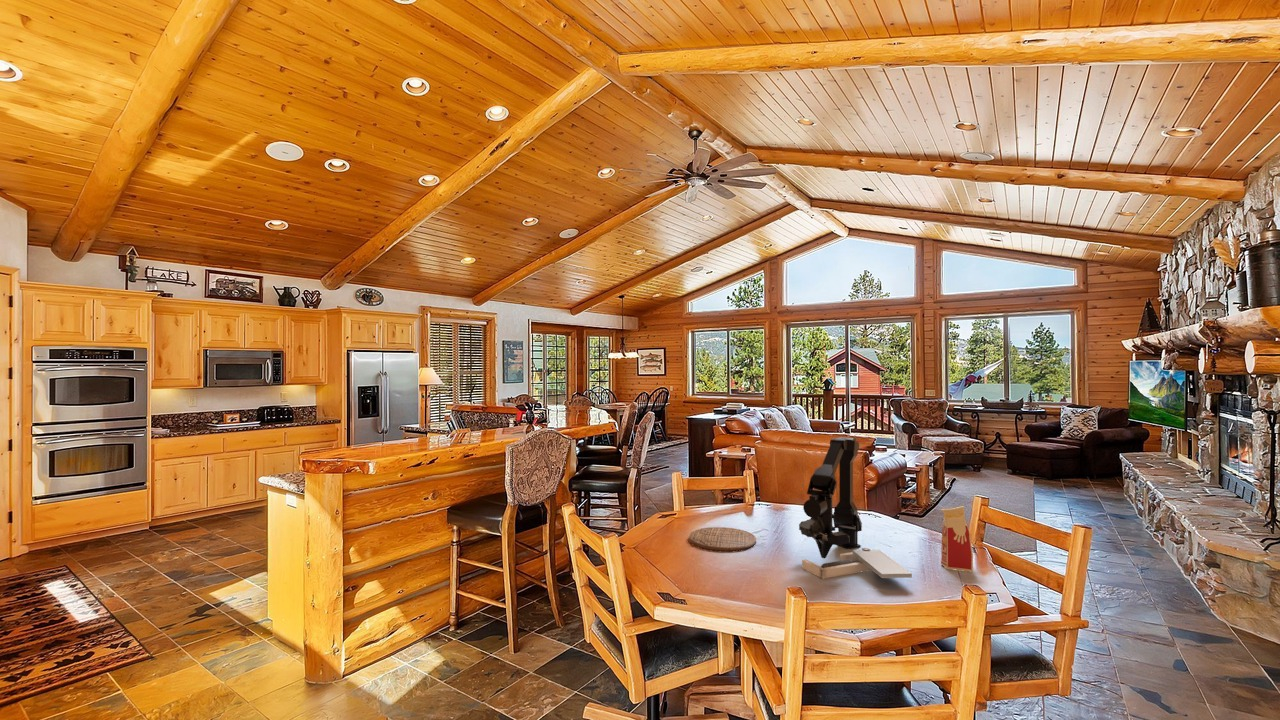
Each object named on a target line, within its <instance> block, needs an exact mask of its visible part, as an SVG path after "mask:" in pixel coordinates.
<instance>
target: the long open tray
mask: <svg viewBox="0 0 1280 720" xmlns="http://www.w3.org/2000/svg"><path fill="white" fill-rule="evenodd" d="M843 560H850V561H851V562H852V563H850V564H844V565H838V566H832V567H826V568H822V567H821V565H818V564H816V563H814V562H812V561H810V560H809V559H801V567H802V569H804V570H805V571H807V572H809V573H811V574H812V575H815V576H817V577H818V578H821V579H822V580H823V579H828V578H835V577H840V576H845V575H851V574H856V573H857V572H858V573H862V572H861V571H863V572H868V571H867V570H869V571H873V570H872V569H870V568H869V567H868V566H867V565H866V564H864V563H863V562H862V561H861V560H860V559H858V558H857V557H856V556H855V555H854V554H853V551H850V552H844V553H840V554H839V561H843ZM859 561H860V562H859Z"/></svg>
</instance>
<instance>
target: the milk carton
mask: <svg viewBox="0 0 1280 720" xmlns="http://www.w3.org/2000/svg"><path fill="white" fill-rule="evenodd" d="M940 511H941V512H942V514H943V520H942V521H943V522H942V527H941V528H942V530H941V548H940V550H941V551H940V552H941V560H940V565H941V564H942V565H943V566H944V567H943V566H942V565H941V566H942V567H943V568H945V567H946V568H947V569H946V568H945V569H946V570H950V569H956V570H955V571H960V570H964V571H963V572H967V571H971V572H970V573H973V572H974V553H973V544H972V539H971V538H972V537H971V533H970V529H969V526H968V524H967V520H966V516H965V505H963V506H958V507H954V508H943V509H940Z"/></svg>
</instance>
